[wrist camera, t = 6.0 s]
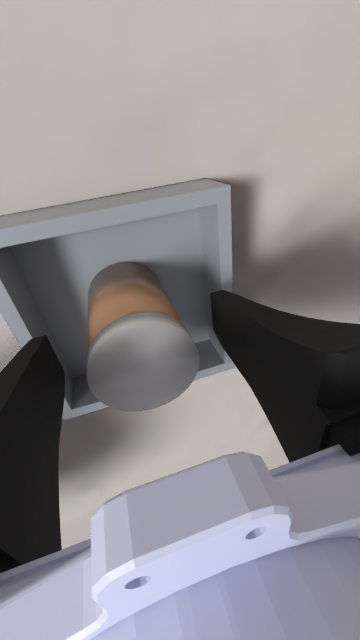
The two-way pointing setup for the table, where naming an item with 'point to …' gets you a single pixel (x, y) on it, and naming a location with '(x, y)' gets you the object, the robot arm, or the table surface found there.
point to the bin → (106, 249)
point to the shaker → (136, 340)
